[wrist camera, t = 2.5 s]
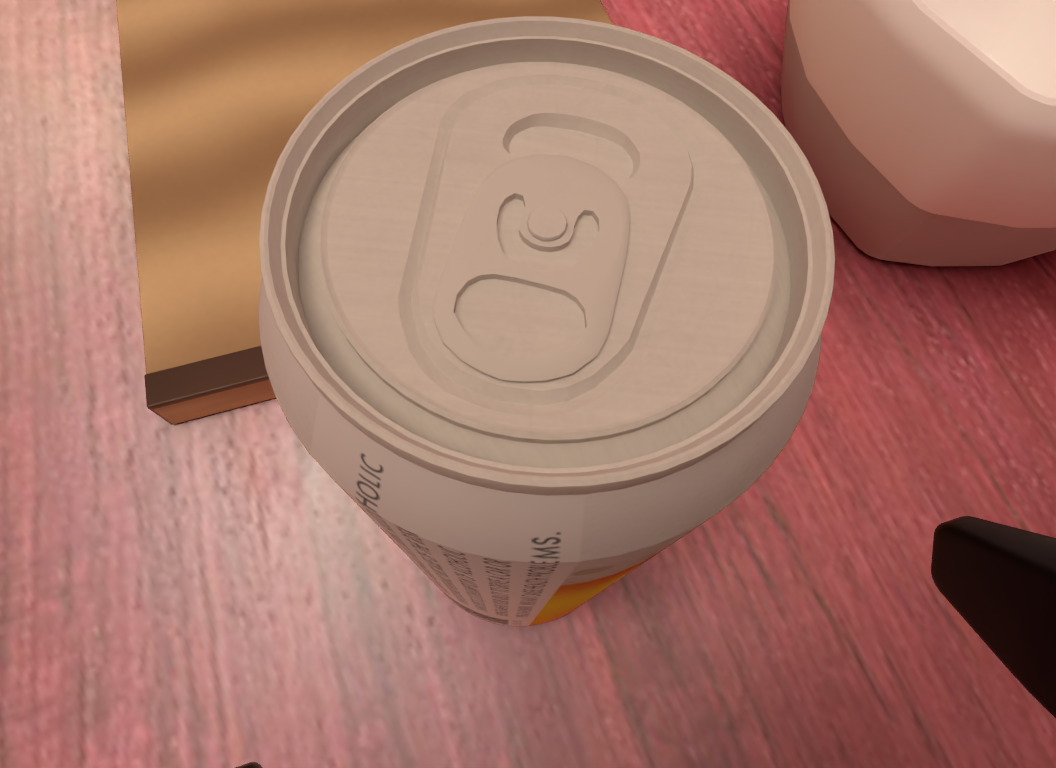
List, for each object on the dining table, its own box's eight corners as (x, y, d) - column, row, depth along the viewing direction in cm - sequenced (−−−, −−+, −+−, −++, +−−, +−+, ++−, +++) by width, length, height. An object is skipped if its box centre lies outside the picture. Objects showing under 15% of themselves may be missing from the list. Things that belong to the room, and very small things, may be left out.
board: (723, 281, 23) (738, 256, 22) (171, 425, 20) (146, 407, 19) (499, -160, 35) (498, -196, 33) (121, -108, 32) (102, -145, 30)
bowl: (801, 366, 22) (991, 181, 13) (671, 25, 29) (741, -242, 20) (1237, 301, 24) (1654, 100, 15) (1017, -6, 31) (1217, -264, 22)
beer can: (631, 457, 20) (886, 53, 7) (592, 651, 18) (870, 639, 4) (454, 412, 21) (357, -55, 7) (394, 596, 18) (74, 425, 5)
